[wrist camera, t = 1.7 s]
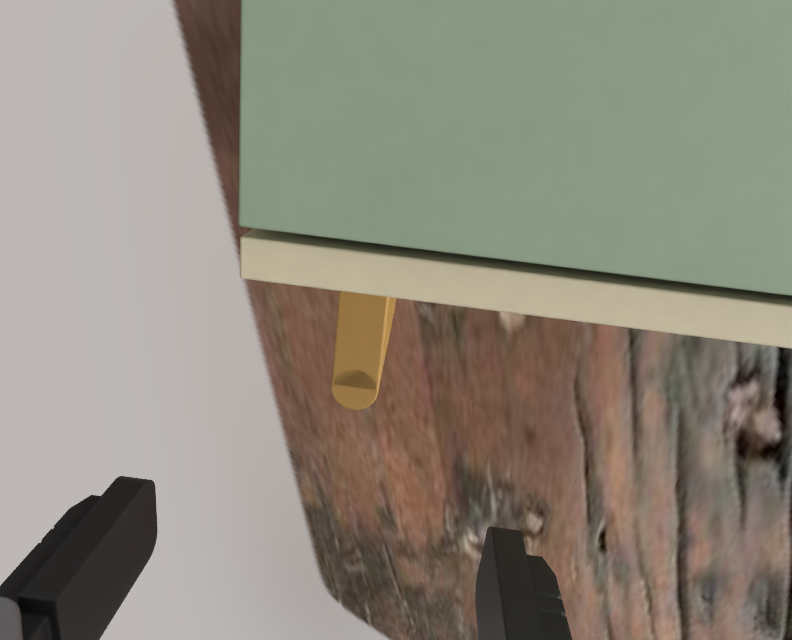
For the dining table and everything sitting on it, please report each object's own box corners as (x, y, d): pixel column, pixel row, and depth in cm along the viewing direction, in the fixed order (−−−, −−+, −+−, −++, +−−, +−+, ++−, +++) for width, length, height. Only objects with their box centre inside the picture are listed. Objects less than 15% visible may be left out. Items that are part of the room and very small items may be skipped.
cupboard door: (645, 316, 33) (899, 574, 15) (344, 277, 33) (236, 484, 15) (680, 197, 30) (1034, 336, 12) (354, 157, 31) (239, 236, 13)
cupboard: (680, 192, 30) (1047, 328, 12) (355, 152, 31) (237, 227, 13) (757, -71, 26) (1506, -474, 8) (376, -114, 26) (246, -593, 8)
